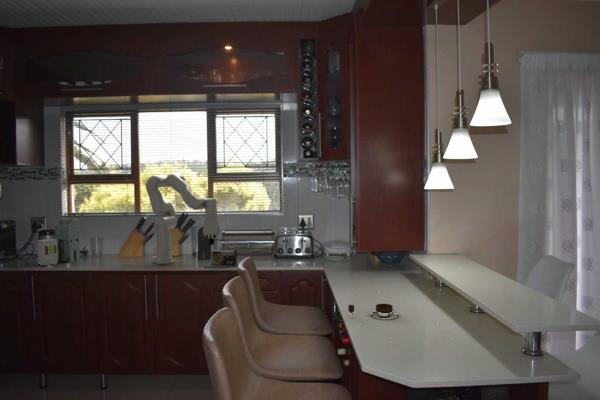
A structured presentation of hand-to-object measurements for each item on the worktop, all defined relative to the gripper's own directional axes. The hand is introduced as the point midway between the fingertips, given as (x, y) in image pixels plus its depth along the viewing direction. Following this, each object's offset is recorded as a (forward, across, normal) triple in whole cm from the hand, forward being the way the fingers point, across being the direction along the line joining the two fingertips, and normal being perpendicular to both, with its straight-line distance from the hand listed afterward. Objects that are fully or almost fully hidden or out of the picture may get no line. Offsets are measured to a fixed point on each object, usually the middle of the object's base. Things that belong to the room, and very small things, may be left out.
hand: (211, 244), depth 315 cm
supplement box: (+14, -111, -22) cm, 114 cm away
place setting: (+14, +116, -86) cm, 146 cm away
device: (+14, -107, -8) cm, 108 cm away
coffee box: (+8, -1, +1) cm, 8 cm away
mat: (+14, +5, 0) cm, 14 cm away
